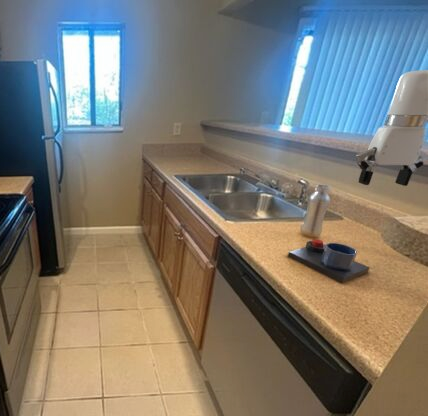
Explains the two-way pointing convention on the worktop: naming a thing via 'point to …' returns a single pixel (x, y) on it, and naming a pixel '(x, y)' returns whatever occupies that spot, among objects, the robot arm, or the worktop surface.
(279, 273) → the worktop surface
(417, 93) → the robot arm
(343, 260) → the cup
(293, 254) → the scale
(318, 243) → the button
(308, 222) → the silver bottle
